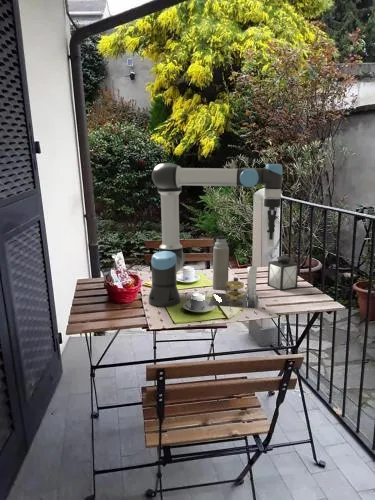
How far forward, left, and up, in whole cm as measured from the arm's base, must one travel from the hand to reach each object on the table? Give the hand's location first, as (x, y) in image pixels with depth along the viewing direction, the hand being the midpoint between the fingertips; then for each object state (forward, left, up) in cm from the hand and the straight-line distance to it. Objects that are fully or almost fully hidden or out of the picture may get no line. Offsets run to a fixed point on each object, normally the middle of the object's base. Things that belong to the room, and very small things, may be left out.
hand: (270, 243), depth 194 cm
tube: (-8, -14, -26) cm, 31 cm away
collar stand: (-16, -8, -28) cm, 33 cm away
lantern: (+7, +23, -28) cm, 37 cm away
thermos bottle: (-25, +13, -28) cm, 39 cm away
